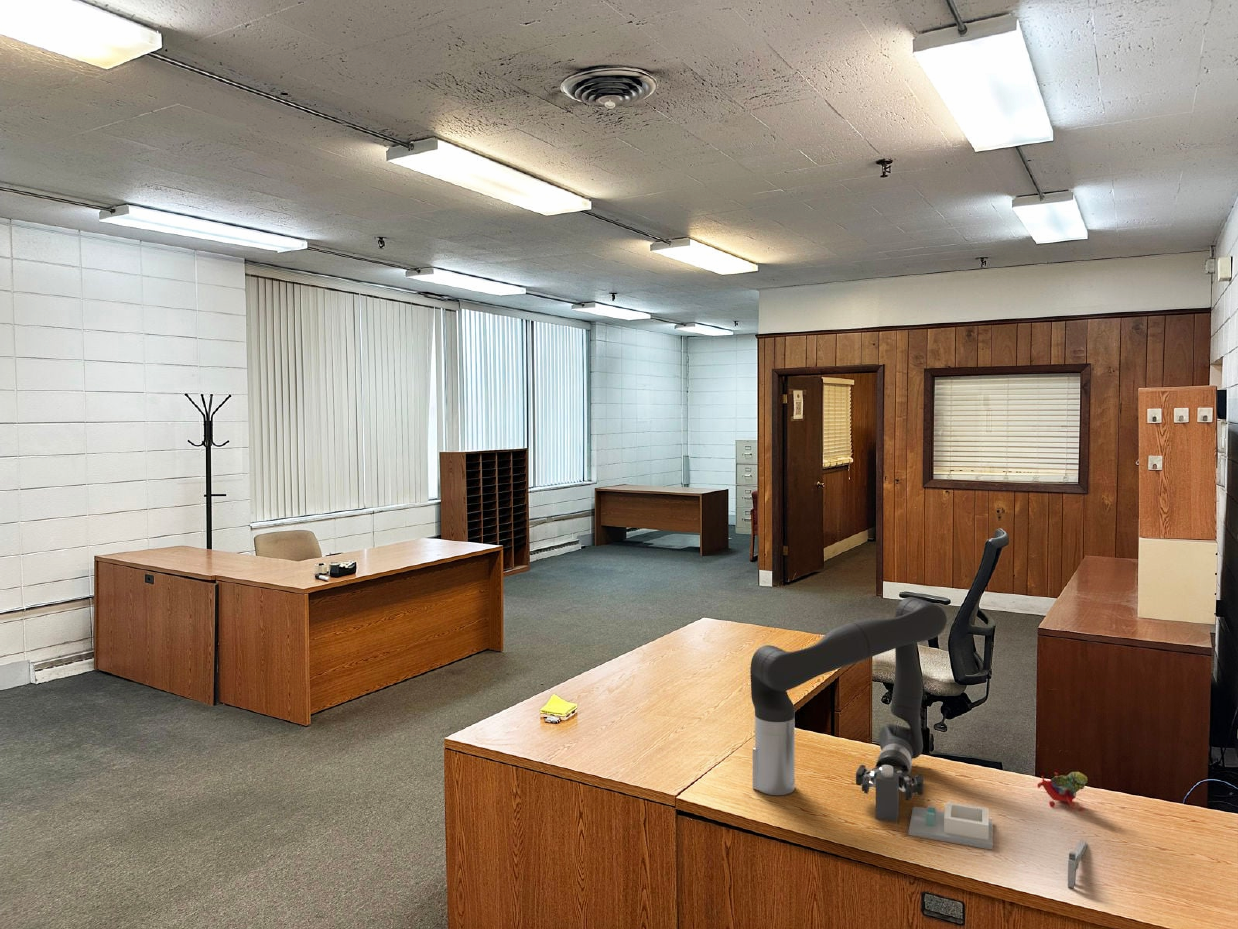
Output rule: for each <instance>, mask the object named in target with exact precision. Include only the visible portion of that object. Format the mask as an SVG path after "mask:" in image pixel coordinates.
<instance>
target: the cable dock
mask: <svg viewBox="0 0 1238 929" xmlns="http://www.w3.org/2000/svg"><path fill="white" fill-rule="evenodd" d="M989 809H990V808H988V807H982V806H977V805H976V806H975V805H969V804H964V803H957V802H951V801H945V808H944V811H943V810H937V809H936V806H933V805H927V806H926V807H920V806H913V807H912V810H911V811H912V812H911V816H910V822H909V827H908V836H914V837H918V838H922V839H923V838H924V839H930V840H934V841H935V840H936V841H941V842H946V843H952V844H958V845H964V846H968V845H969V847H974V848H975V847H976V848H980V849H984V850H985V849H986V850H990V849H992V851H994V840H993V839H994V834H993V833H994V832H993V831H994V829H993V823H994V822H993V821H994V820H993V818H989V816H990V815H989V812H990V811H989Z"/></svg>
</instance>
